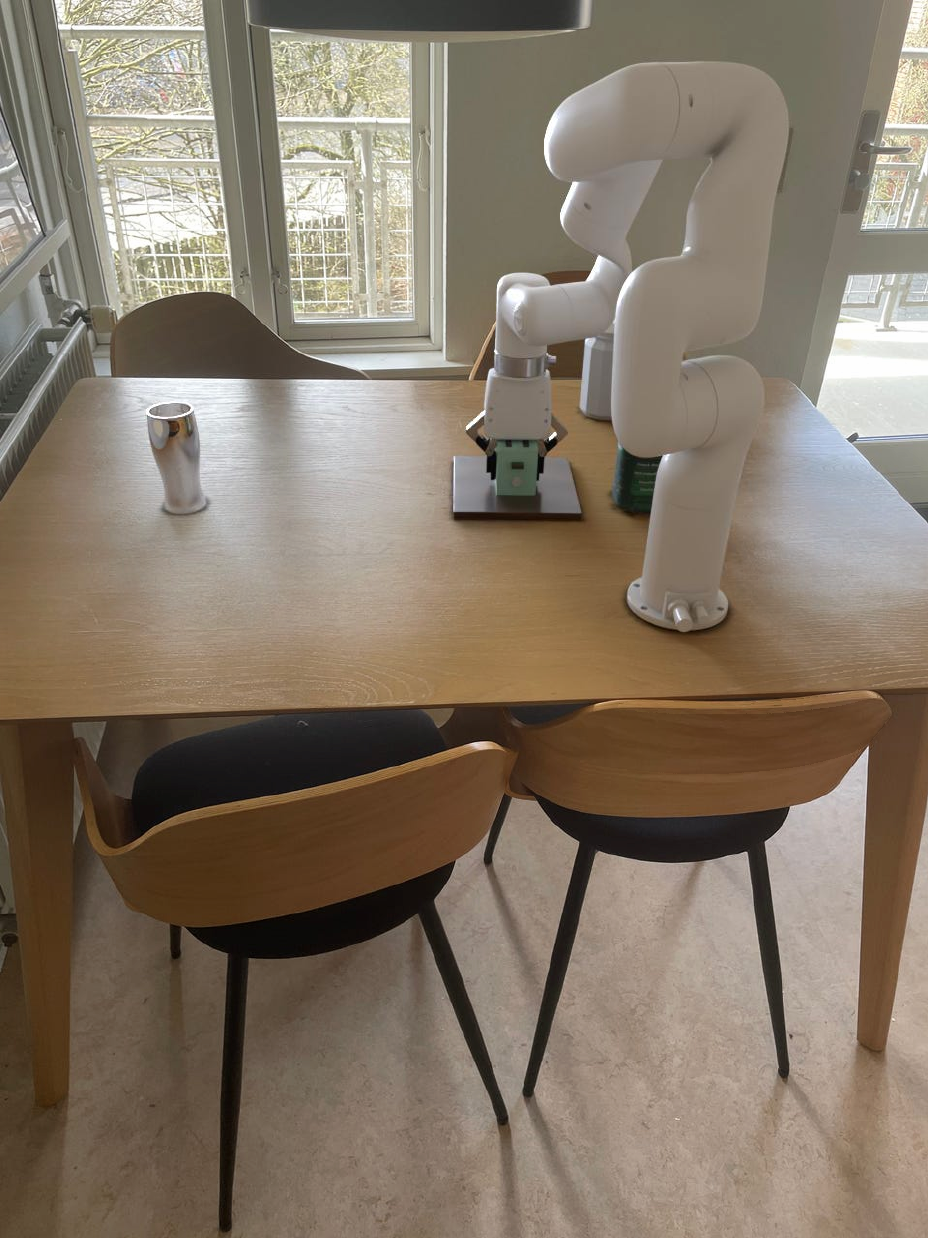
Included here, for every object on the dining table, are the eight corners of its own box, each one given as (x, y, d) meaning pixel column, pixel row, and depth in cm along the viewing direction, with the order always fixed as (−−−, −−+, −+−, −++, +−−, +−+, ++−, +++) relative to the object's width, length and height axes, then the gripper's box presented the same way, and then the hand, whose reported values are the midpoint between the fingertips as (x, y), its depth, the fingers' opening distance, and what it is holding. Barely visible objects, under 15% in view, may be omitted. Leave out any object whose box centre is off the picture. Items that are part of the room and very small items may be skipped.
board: (581, 520, 138) (581, 513, 137) (453, 518, 137) (453, 511, 137) (567, 463, 155) (567, 457, 155) (453, 462, 155) (454, 455, 154)
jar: (573, 404, 179) (581, 309, 170) (622, 403, 180) (633, 308, 171) (584, 422, 171) (593, 324, 162) (636, 421, 172) (647, 323, 163)
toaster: (494, 470, 149) (495, 426, 145) (531, 471, 149) (534, 426, 145) (496, 498, 141) (498, 452, 136) (535, 499, 141) (538, 452, 137)
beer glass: (218, 505, 140) (204, 409, 132) (178, 520, 136) (161, 422, 127) (192, 491, 144) (177, 397, 136) (152, 505, 139) (134, 409, 131)
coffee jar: (668, 516, 139) (686, 396, 129) (615, 515, 139) (630, 395, 129) (658, 489, 147) (675, 374, 137) (608, 488, 147) (621, 373, 137)
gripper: (576, 356, 139) (567, 467, 148) (461, 354, 138) (459, 466, 148) (582, 372, 132) (571, 487, 142) (461, 370, 132) (459, 486, 142)
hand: (514, 475), depth 145 cm, fingers open, 6 cm apart
